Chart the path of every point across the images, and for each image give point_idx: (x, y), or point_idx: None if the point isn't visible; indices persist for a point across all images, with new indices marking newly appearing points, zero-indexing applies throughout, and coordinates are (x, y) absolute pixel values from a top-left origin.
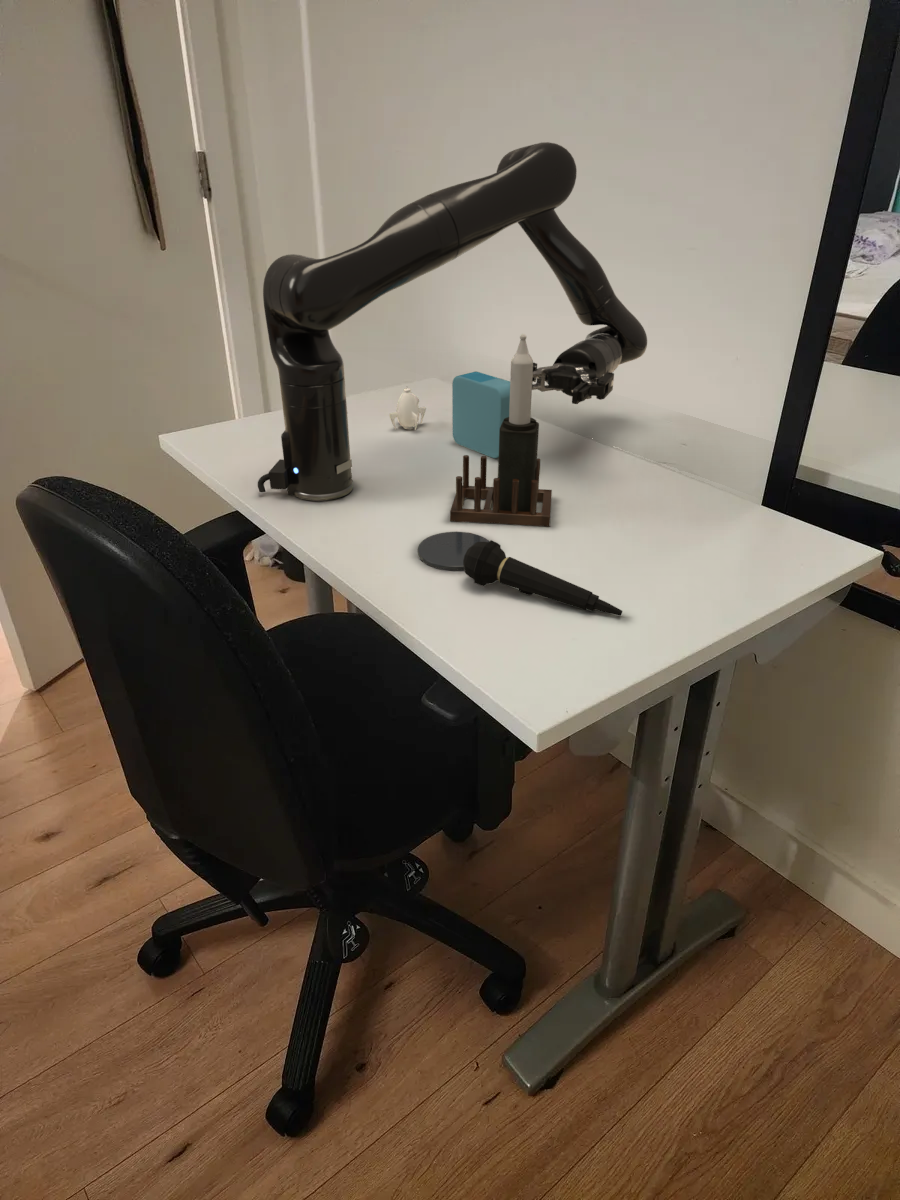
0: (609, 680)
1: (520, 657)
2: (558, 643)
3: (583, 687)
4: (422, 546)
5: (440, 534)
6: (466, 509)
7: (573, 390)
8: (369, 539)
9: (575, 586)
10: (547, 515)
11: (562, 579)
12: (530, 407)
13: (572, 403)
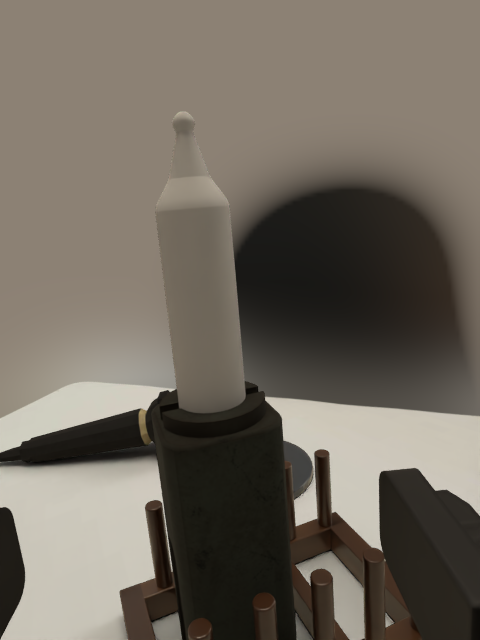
0: (21, 413)
1: (102, 404)
2: (69, 422)
3: (44, 404)
4: (298, 451)
5: (302, 480)
6: (312, 529)
7: (4, 509)
8: (388, 447)
9: (49, 435)
10: (126, 591)
11: (66, 431)
12: (173, 357)
13: (22, 591)
